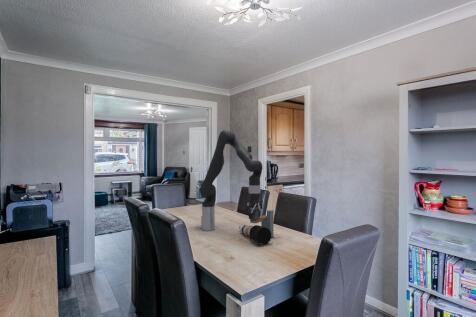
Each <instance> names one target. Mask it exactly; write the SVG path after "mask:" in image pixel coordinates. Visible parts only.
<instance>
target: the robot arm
mask: <svg viewBox="0 0 476 317" xmlns="http://www.w3.org/2000/svg"><path fill="white" fill-rule="evenodd" d="M226 145H229V146H231V147H233V149H234V150H235V152H236V156H237V157H238V158H239V159H240V160H241V161H242V163H243V165H244V167H245V169H246V170H247V171H248V172H250V173H252V175H250V176H249V177H248V200H249V202H246V205H245V206H246V210H245V211H246V213H247V214H248V219H249V220H250V219H252V212H253V210H258V211H259V217H261V211H262V210H263V200H262V199H261V176H262V172H263V164H262V162H261V161H260V160H253V155H252V154H251V153H250V152H249V151H248V149H246V148H245V146H244V145H243V144H242V142H241V141H240V139H239V138H238V137H237V135H236V134H235V132H233V131H231V130H230V131H229V130H221V131H220V132H219V135H218V137H217V142H216V144H215V149H214V152H213V155H212V158H211V160H210V163H209V166H208V169H207V172H206V175H205V177H204V179H203V181H202V184H201V186H200V188H199V195H200V196H201V197H202V198H205V199H204V200H203V201H202V202H201V216H200V217H201V219H200V220H201V221H200V222H201V225H200V226H201V227H200V229H201V230H202V231H206V232H211V231H214V230H216V224H215V222H216V221H215V220H216V218H215V217H216V214H215V213H216V212H215V211H216V209H215V208H216V206H215V205H216V201H217V188H216V186H215V185H214V184H213V183H214V182H215V180H216V178H218V176H219V175H220V173H221V172H222V170H223V168H224V164H225V157H224V156H225V155H224V150H225V146H226Z"/></svg>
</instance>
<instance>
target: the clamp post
mask: <svg viewBox="0 0 476 317" xmlns="http://www.w3.org/2000/svg"><path fill="white" fill-rule="evenodd" d="M266 216H267V220H264V221H261V222H260V223H261V225H260V226H262V227H266V228H268V229H269V230H270V232H271V239H272V237H273V238H274V230H275V229H274V223H275V222H274V218H275V217H274V216H275V215H274V209H268V210H266Z"/></svg>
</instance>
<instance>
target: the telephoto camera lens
mask: <svg viewBox="0 0 476 317" xmlns="http://www.w3.org/2000/svg"><path fill="white" fill-rule="evenodd" d="M238 228H239V229H238V230H239V232H240V233H241V234H243V235H245V236H246V237H249V238H250V240H252V242H255V243H257V244H259V245H262V246H263V245H267V244H269V242H271V240H272V238H271V232H270V230H269V229H268V228H266V227H262V226H261V225H247V224H241V225H239V226H238Z"/></svg>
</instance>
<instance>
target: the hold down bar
mask: <svg viewBox="0 0 476 317" xmlns="http://www.w3.org/2000/svg"><path fill="white" fill-rule="evenodd" d="M264 220H267V214H265V215H262V216H260V217H259V211H258V210H257V209H254V210H253V212H252V219H249V223H250V224H258V223H261V221H264Z"/></svg>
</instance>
